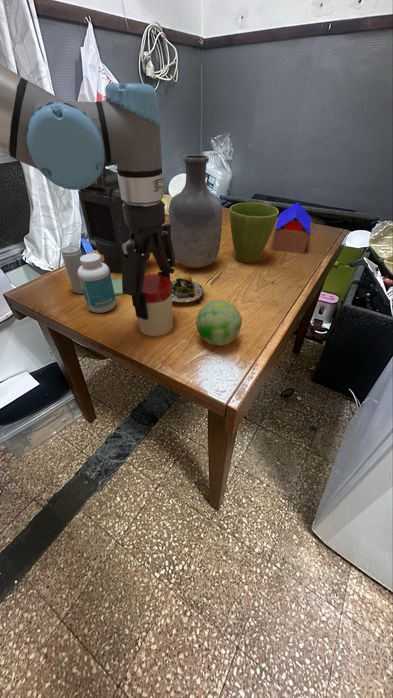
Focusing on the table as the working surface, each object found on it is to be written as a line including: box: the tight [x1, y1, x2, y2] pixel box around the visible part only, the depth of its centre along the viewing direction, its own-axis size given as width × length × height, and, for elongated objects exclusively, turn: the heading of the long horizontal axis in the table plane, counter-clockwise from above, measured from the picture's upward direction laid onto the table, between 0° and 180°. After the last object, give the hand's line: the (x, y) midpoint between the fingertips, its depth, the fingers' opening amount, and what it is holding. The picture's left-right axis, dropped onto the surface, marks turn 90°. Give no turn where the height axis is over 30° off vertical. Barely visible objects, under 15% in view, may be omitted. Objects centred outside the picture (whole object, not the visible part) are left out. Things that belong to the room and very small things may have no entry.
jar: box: [136, 293, 174, 337], centre depth 66 cm, size 8×8×11 cm
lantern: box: [77, 163, 143, 273], centre depth 84 cm, size 15×18×30 cm
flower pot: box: [229, 202, 280, 264], centre depth 93 cm, size 15×15×16 cm
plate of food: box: [171, 270, 205, 304], centre depth 77 cm, size 12×12×8 cm
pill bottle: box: [78, 253, 117, 314], centre depth 71 cm, size 8×7×14 cm
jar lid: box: [136, 273, 173, 302], centre depth 63 cm, size 9×9×2 cm
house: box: [271, 201, 312, 254], centre depth 107 cm, size 12×20×12 cm, turn 163°
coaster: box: [111, 278, 125, 296], centre depth 83 cm, size 8×8×1 cm
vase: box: [168, 153, 223, 269], centre depth 85 cm, size 16×16×30 cm
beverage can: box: [60, 245, 84, 295], centre depth 78 cm, size 5×5×12 cm
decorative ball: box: [195, 299, 243, 346], centre depth 62 cm, size 10×10×10 cm
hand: (154, 307), depth 66 cm, fingers closed on jar lid, 9 cm apart
